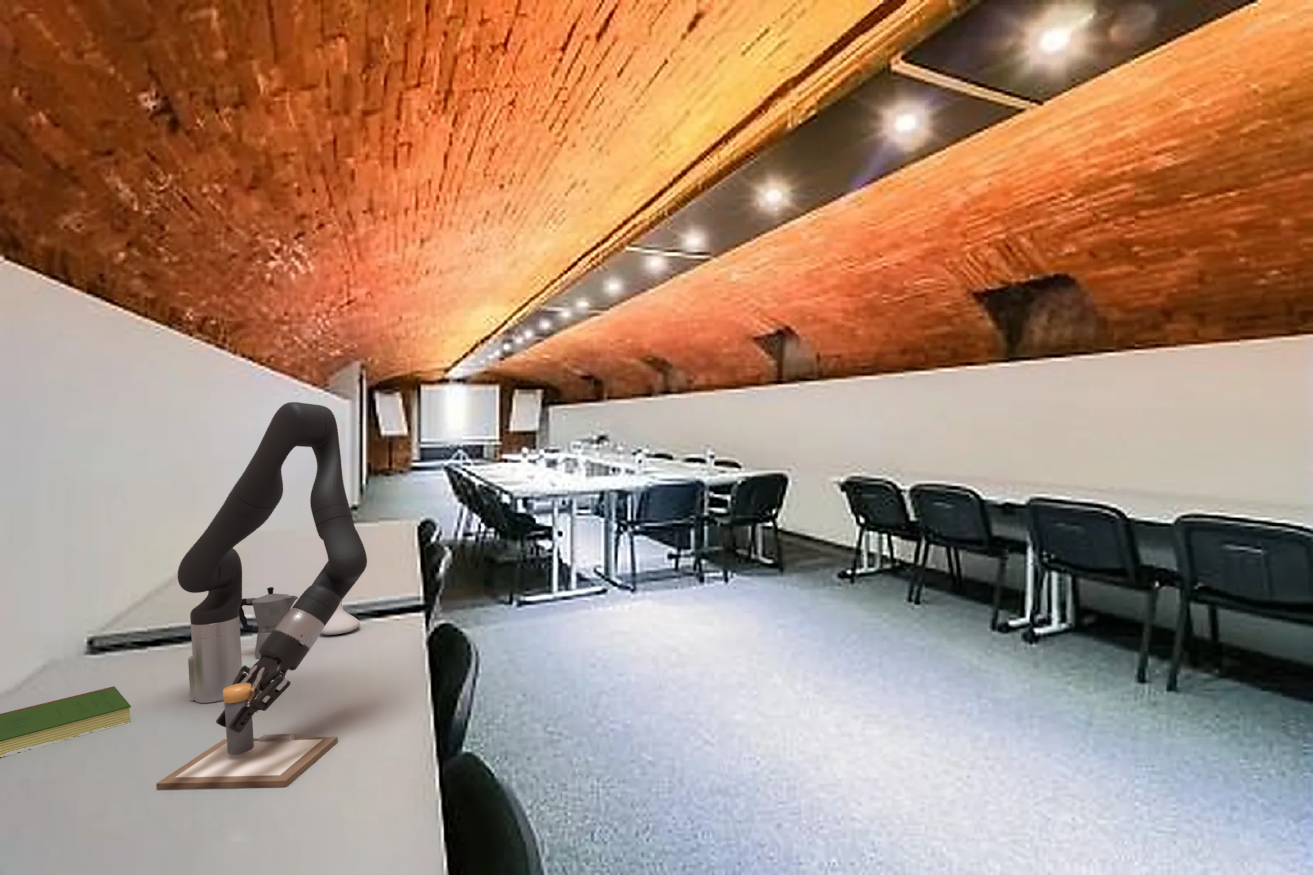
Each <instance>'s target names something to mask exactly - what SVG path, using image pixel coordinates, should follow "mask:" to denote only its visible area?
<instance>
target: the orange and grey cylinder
mask: <svg viewBox="0 0 1313 875" xmlns="http://www.w3.org/2000/svg"><path fill="white" fill-rule="evenodd" d="M250 689H251V684H250V683H239V684H234V685H231V686H228V687H226V688H224V689H223V698H224V700H223V703H224V709H225V720H226V727H225V732H226V735H225V736H226V739H227V753H228V754H230V755H236V754H241V753H245V752H247V751H249V750H251V749H252V748H253V747H254V739H255V738H254V724H253V723H254V721H253V716H252V717H251V718H250V720H249V721H248V723H247V724H246V725H245V727H244V728H243V729H242V731H241V732H239V733H238V732H235V731H233V730H231V729H230V728H229V725H230V723H231V722H232V720H233V719H234V718H235V716H236V715H237V714H238V712H239V711H240V710H241V708H242V707H245V703H246V701H247V700H248V698H249V696H250Z"/></svg>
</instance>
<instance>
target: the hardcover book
mask: <svg viewBox="0 0 1313 875" xmlns="http://www.w3.org/2000/svg"><path fill="white" fill-rule="evenodd" d="M131 707H132V705H131V704H130V703H129V701H127V699H126V698H125V697H124V696H123V695H122V693H121V692H120V690H118V689H117V688H116V686H113V685H112V686H110V687H105V688H102V689H98V690H97V689H96V690H93V691H90V692H85V693H80V694H76V695H73V696H67V697H65V698H60V699H55V700H51V701H47V702H43V703H39V704H35V705H31V706H26V707H24V708H23V707H22V708H19V709H14V710H10V711H6V712H2V713H0V755H3V754H5V753H7V752H10V751H14V750H18V749H21V748H26V747H28V746H29V747H30V746H36V745H40V744H43V743H46V742H54V741H58V740H63V739H66V738H69V737H76V736H78V735H80V734H83V733H86V732H92V731H94V730H98V729H101V728H107V727H111V726H115V725H118V724H121V723H127V724H129V723H128V722H130V723H131V711H130V709H131ZM76 738H77V737H76Z"/></svg>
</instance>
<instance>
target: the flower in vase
mask: <svg viewBox="0 0 1313 875" xmlns="http://www.w3.org/2000/svg"><path fill="white" fill-rule="evenodd" d="M360 625H361V622H360V620H359V619H357V618H356V617H355V616H353V615H351V614H349V612H347V611H345V609H344V606H343V599H342V600H341V602H340V604H339V606H338V608H337V609H336V611H335V612H334V614H333V615H332V617H331V618H330V620H329V621H328V622H327V624H326V625H325V627H324V628H323V630H322V632H321V634H323V635H327V636H328V635H329V636H331V635H334V636H335V635H339V634H340V635H341V634H344V633H349V632H352V631H354V630H356V629H357V628H359V627H360Z"/></svg>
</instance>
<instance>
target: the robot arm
mask: <svg viewBox="0 0 1313 875" xmlns="http://www.w3.org/2000/svg"><path fill="white" fill-rule="evenodd" d="M337 424H338V423H337V420H336V417H335V415H334V413H333V411H332V409H330V408H328V407H327V406H325V405H321V404H314V403H313V404H312V403H307V402H306V403H304V402H299V401H296V402H295V401H290V402H286V403H284V404H283V405H281V406H280V407H279V408H278V409H277V411H276V412H275V413H274V415H273V417H272V419H271V420H270V423H269V425H268V427H267V429H266V431H265V433H264V435H263V436H262V439H261V440H260V443H259V445H258V447H257V449H256V450H255V452H254V454H253V456H252V457H251V460H250V461H249V463H248V464H247V466H246V468H245V470H244V471H243V472H242V474H241V476H240V477H239V478H238V480H237V481H236V483H235V484H234V486H233V487H232V489H231V490H230V492H229V494H228V495H227V496H226V499H225V500H224V502H223V504H222V506H221V507H220V508H219V510H218V511H217V513H216V514H215V516H214V517H213V518H212V520H211V522H210V523H209V525H208V526H207V528H206V529H205V530H204V532H203V533H202V534H201V536H200V537H199V538H198V539H197V540H196V541H195V543H193V545H192V546H191V547H190V548H189V550H188V551H187V552H186V553H185V555H184V556H183V558H182V559H181V561H180V563H179V566H178V569H177V582H178V584H179V586H180V588H181V589H182V590H184V591H185V592H187V593H192V594H197V593H207V592H208V593H207V595H206V597H205V598H204V599H203V600H202V601H201V602H200V603H199V604H198V605H196V606H194V607H193V608H192V610H191V611H190V613H189V614H190V616H189V617H190V632H191V633H190V635H191V649H192V650H191V651H192V652H191V653H192V655H191V656H190V657H188V659H187V660H188V661H187V664H188V680H189V682H188V683H189V700H192V702H193V700H195V701H194V702H196V703H200V704H202V703H203V704H208V703H215V702H216V703H217V702H220V701H224V698H223V689H224V688H226V687H228V686H231V685H234V684H239V683H250V684H251V689H250V696H249V698H248V700H247V701H246V703H245V707H242V708H241V710H240V711H239V712H238V714H237V715H236V716H235V718H234V719H233V720H232V722H231V723H230V725H229V728H230V729H231V730H233V731H235V732H238V733H239V732H241V731H242V729H243V728H244V727H245V725H246V724H247V723H248V721H249V720H250V718H251V717H252V718H253V716H254V714H255V713H258V712H260V711H263V712H266V711H267V710H268V709H269V708H270V707H271V706H272V705H273V703H274V702H276V700H278V699H279V697H280V696H281V695H283V693H284V692H285V691H286V690H287V689H288V688H289V686H291V681H290V680H288V679H287V678H286V675H287V673H288V671H296V670H297V669H298V667H299V666H300V664H301V663H302V661H303V660H304V659H305V657H306V656H307V655H308V653H309V652H310V651H311V649H312V647H313V646H314V644H316V642H317V640H318V639H319V637H320V635H321V634H322V633H321V632H322V630H323V628H324V627H325V625H326V624H327V622H328V621H329V620H330V618H331V617H332V615H333V614H334V612H335V611H336V609H337V608H338V606H339V604H340V602H341V600H342V601H343V599H344V598H345V597H346V595H347V594H348V593H349V592H350V591H351V589H352V588H353V586H354V585H355V584H356V583H357V581H359V578H361V576H362V575H363V573H364V572H365V570H366V568H367V565H368V557H367V552H366V549H365V546H364V542H362V539H361V537H360V535H359V532H358V530H357V529H356V526H355V523H354V522H355V521H354V518H353V515H352V511H351V508H350V504H349V500H348V497H347V493H346V489H345V484H344V478H343V469H342V455H341V449H340V448H341V447H340V446H341V445H340V438H339V429H338V425H337ZM296 447H304V448H311V449H312V451H313V454H314V456H315V460H316V475H315V478H314V481H313V484H312V488H311V492H310V498H309V499H310V500H309V501H310V504H309V505H310V510H311V514H312V518H313V522H314V525H315V529H316V532H317V535H318V536H319V538H320V539H321V540H322V541H323V545H324V547H325V551H326V555H327V559H328V561H327V562H326V563H325V565H324V566H323V568H322V569H321V570H320V572H319V573H318V575H317V576H316V578H314V581H313V582H312V584H311V585H310V586H308V587H307V588H306V589H305V590H304V591H303V593H302V594H301V595H300V596H299V597H298V599H296V601H295V602H294V603H293V605H292V607H291V609H290V611H289V612H288V613H287V614H286V615H285V616H284V617H283V618H282V619H281V620H280V622H279V623H278V624H277V626H276V627H275V628H274V630H273V631H272V632H271V634H270V635H269V636H268V638H267V639H266V640H265V642H264V643H263V644H262V646H261V647H260V648H259V650H258V652H259V654H260V655H261V659H258V661H257V662H255V663H253V665H252V666H251V667H249V666H247V665H246V664H245V665H243V660H242V658H243V656H242V641H241V624H240V623H241V621H240V619H239V608H240V605H241V602H242V599H243V566H242V561H241V560H242V559H241V557H240V555H239V553H238V552H237V550H236V549H235V548H234V547H235V546H237V545H238V544H239V543H240V542H243V540H245V539H247V537H249V536H250V535H251V534H253V533H254V532H255V531H257V530H258V529H259V528H261V526H263V525H264V524H265V523H266V521H267V520H268V519H269V518H270V517H271V515H272V514H273V512H274V511H275V509H276V507H277V506H278V505H279V503H280V501H281V500H282V497H283V494H284V482H283V476H282V467H283V465H284V463H285V461H286V459H287V458H288V456H289V454H290V453H291V452H292V450H294V448H296ZM215 723H216V724H217V725H219V726H221V727H223V728H226V720H225V708H224V709H223V711H222V712H221V713H220V714H219V716H218V718H217V719H216V720H215Z"/></svg>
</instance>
